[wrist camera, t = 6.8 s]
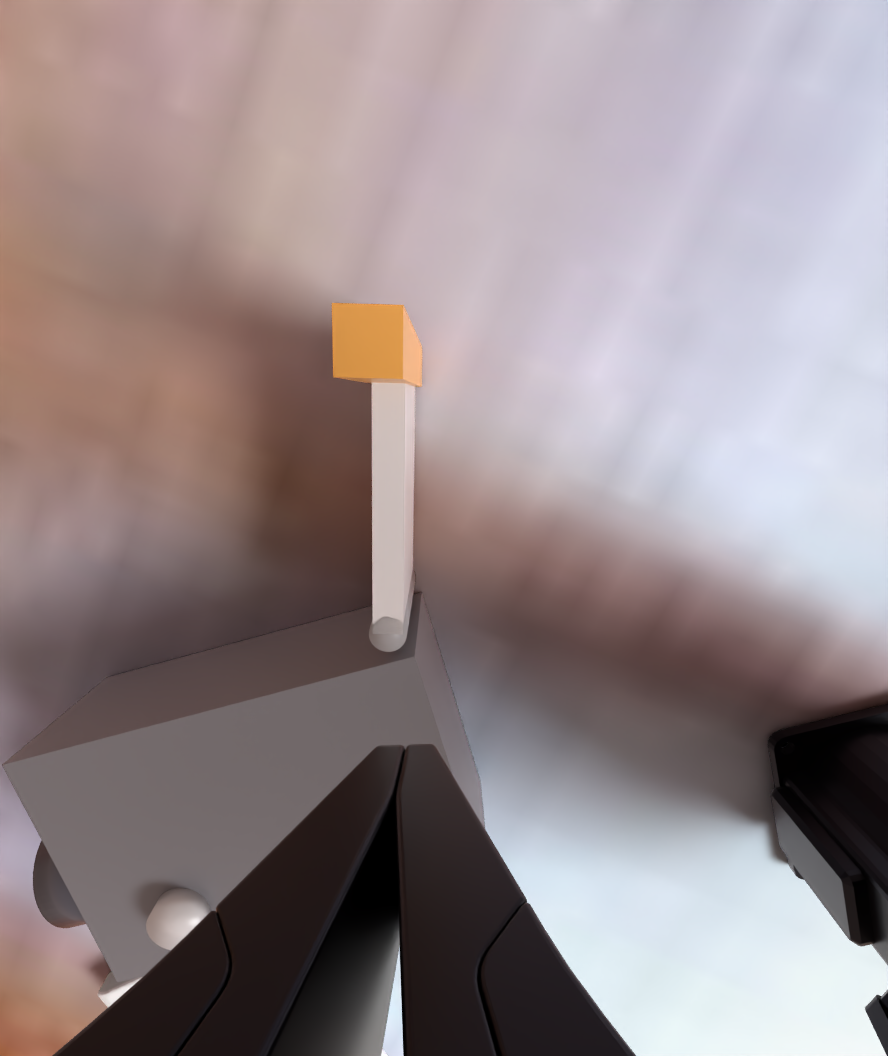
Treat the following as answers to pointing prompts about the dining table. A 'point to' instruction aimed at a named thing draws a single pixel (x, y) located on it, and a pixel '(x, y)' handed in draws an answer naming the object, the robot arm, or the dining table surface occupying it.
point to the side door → (386, 449)
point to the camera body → (217, 771)
